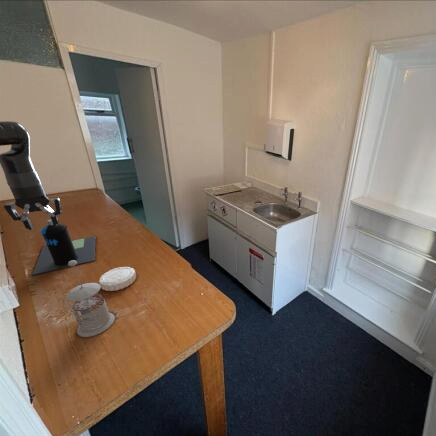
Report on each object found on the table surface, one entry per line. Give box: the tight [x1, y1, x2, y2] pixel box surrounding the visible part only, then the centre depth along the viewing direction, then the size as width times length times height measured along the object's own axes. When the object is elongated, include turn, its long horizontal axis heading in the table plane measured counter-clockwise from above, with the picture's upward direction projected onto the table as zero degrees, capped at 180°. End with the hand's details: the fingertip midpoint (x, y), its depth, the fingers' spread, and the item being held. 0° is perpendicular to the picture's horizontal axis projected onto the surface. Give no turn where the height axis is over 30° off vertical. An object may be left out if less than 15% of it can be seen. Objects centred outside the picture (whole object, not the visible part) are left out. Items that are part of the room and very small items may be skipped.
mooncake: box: [98, 266, 137, 292], centre depth 94 cm, size 12×12×4 cm
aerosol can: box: [40, 219, 78, 265], centre depth 100 cm, size 8×8×20 cm
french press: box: [61, 260, 116, 338], centre depth 71 cm, size 10×12×25 cm
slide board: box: [32, 236, 96, 276], centre depth 110 cm, size 20×26×1 cm
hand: (43, 226), depth 87 cm, fingers open, 6 cm apart
